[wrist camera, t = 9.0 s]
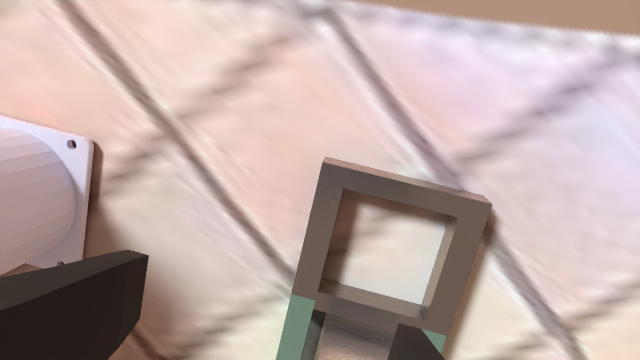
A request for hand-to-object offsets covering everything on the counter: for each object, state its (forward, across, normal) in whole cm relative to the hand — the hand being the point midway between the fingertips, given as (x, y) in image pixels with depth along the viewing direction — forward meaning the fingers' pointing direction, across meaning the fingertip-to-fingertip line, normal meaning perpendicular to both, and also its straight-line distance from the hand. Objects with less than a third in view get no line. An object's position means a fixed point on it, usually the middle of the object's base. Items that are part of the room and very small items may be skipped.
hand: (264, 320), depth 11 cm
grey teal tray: (+10, -4, +4) cm, 12 cm away
